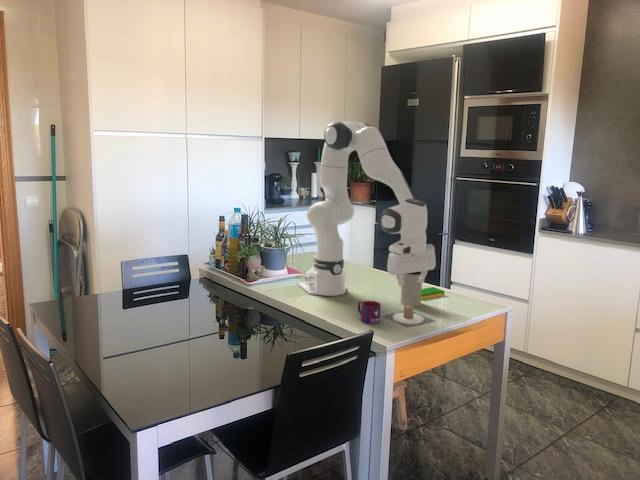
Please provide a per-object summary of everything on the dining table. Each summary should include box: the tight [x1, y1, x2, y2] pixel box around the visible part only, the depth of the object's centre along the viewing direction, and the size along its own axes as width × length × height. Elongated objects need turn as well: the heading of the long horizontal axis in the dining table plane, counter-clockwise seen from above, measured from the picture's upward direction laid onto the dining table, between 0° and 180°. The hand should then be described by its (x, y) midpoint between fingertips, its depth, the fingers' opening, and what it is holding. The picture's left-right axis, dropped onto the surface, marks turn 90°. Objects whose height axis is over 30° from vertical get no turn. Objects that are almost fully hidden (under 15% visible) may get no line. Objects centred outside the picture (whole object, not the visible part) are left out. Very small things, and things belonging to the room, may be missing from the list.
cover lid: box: [393, 305, 424, 326], centre depth 187 cm, size 11×11×5 cm
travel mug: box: [399, 272, 423, 308], centre depth 205 cm, size 8×8×18 cm
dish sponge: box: [421, 286, 446, 301], centre depth 219 cm, size 7×14×2 cm, turn 122°
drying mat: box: [381, 310, 436, 329], centre depth 189 cm, size 14×14×1 cm
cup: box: [357, 300, 381, 325], centre depth 185 cm, size 7×10×7 cm
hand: (411, 284), depth 184 cm, fingers open, 8 cm apart
